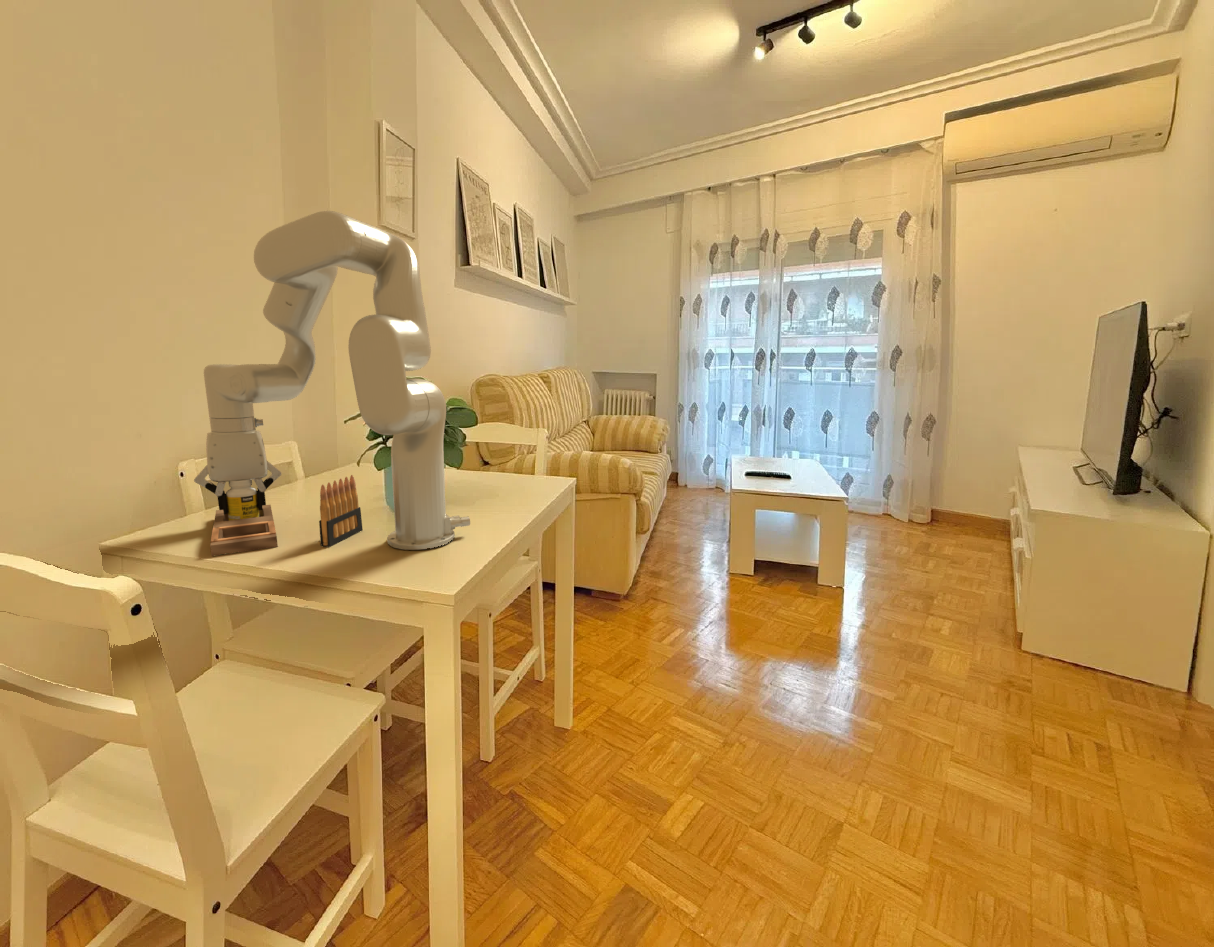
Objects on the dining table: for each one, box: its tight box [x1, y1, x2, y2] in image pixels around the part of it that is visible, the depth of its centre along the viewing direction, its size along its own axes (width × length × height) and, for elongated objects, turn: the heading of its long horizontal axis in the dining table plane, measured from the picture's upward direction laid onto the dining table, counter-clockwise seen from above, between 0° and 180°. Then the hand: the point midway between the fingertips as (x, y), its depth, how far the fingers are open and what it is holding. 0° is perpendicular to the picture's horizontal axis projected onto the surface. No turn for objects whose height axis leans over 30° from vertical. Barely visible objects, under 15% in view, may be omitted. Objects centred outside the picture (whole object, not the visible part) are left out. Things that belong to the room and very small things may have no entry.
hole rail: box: [209, 504, 279, 557], centre depth 106 cm, size 10×26×2 cm, turn 34°
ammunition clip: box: [318, 474, 363, 548], centre depth 103 cm, size 11×2×12 cm, turn 172°
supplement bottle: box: [225, 479, 259, 520], centre depth 111 cm, size 5×5×10 cm
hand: (243, 510), depth 111 cm, fingers closed on supplement bottle, 5 cm apart
